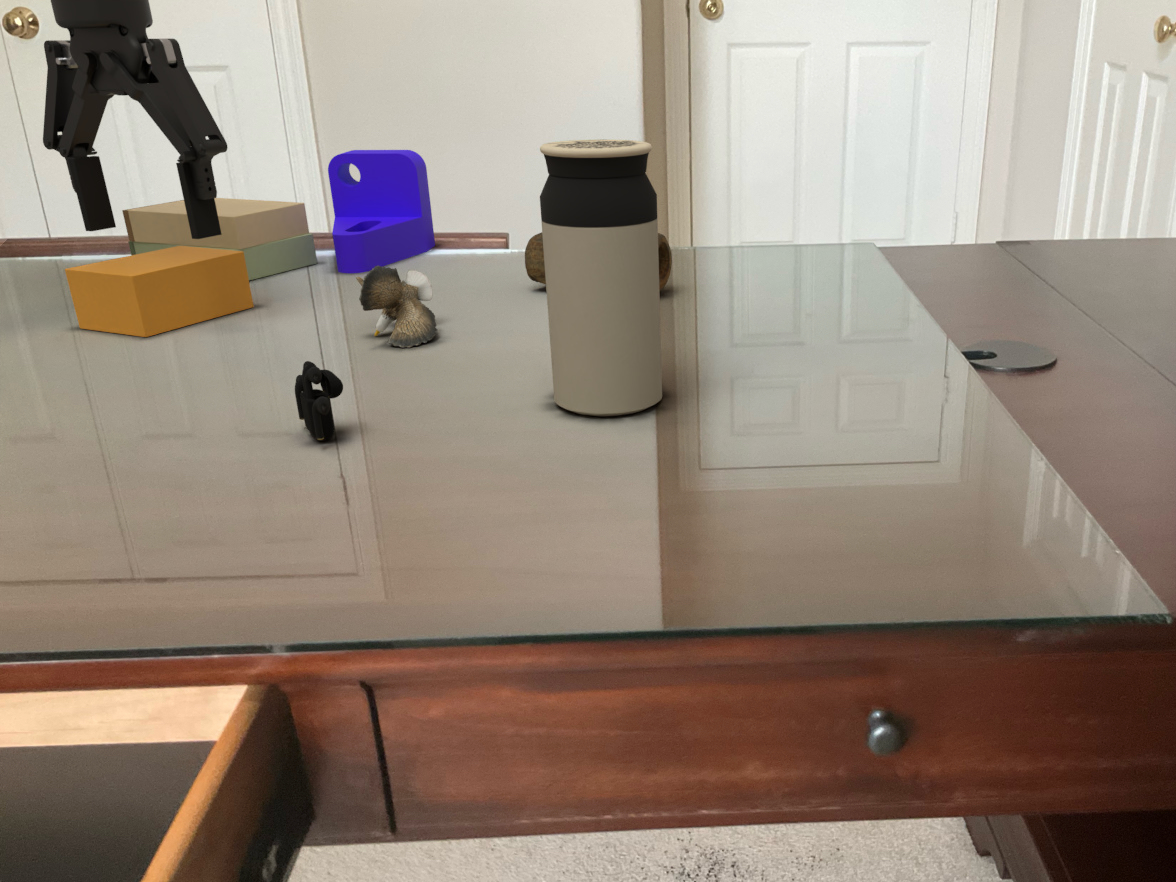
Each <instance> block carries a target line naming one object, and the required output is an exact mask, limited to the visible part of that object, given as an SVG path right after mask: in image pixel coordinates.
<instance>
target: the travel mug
mask: <svg viewBox="0 0 1176 882" xmlns="http://www.w3.org/2000/svg"><path fill="white" fill-rule="evenodd" d="M652 146H653V145H652V144H651V143H649V142H646V141H643V140H633V139H632V140H630V139H605V138H603V139H601V138H600V139H573V140H560V141H551V142H546V143H543V144H541V145H540V147H539V151H540V153H541V154H542V155H543V157H544V160H545V164H546V169H547V174H548V176H547V178H546V180H545V183H544V185H543V188H542V190H541V191H540V192H541V193H540V195H539V205H540V206H539V207H540V218H541V219H540V221H541V232H542V235H543V249H544V263H545V277H546V285H545V290H546V302H547V303H546V305H547V317H548V318H547V319H548V330H549V332H548V333H549V344H550V345H549V346H550V360H551V373H552V385H553V386H552V387H553V401H554V402H555V404H556V405H557V406H559V407H561V408H562V409H565V410H566V411H569V412H572V413H576V414H579V415H584V416H593V417H617V416H624V415H630V414H636V413H639V412H643V411H645V410H646V409H649V408H651V407H652V406H654V405H656V404H657V403H659V402H660V401H661V400H662V398H663V372H662V371H663V370H662V369H663V368H662V337H661V336H662V334H661V333H662V332H661V330H662V329H661V298H660V297H661V296H660V291H659V257H658V233H659V228H658V227H659V226H658V225H659V224H658V221H659V220H658V195H657V192H656V190H655V188H654V186H653V185H652V182H651V180H650V179H649V176H648V175H647V168H648V159H649V154H650V153H651V152H652V150H653V147H652Z"/></svg>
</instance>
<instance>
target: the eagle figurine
mask: <svg viewBox="0 0 1176 882" xmlns="http://www.w3.org/2000/svg"><path fill="white" fill-rule="evenodd" d="M355 279H356V281H357V282H358V283H359V284H360V286H361V288H360V295H359V298H358V299H359V302H360V305H361V306H362V310H363V311H366V312H368V311H369V312H370V311H376V310H382V311H381V314H380V316H379V317H378V321H377V322H376V325H375V331H374V334H373V336H374V337H377V336H378V335H379V334H381V333H383V332H385V331H386V330H387V328H388V326H390V324H392V322H394V321H395V325H394V329H393V331H392V333H391V335H390V336H389V338H388V341H387V343H388V344H392V345H393V346H394V347H399V348H402V349H405V348H409V349H410V348H412V347H414V346H416V347H417V346H420V345H421V344H422V343H423V344H427V343H428V341H432V340H433V338H434V337H435V336H436V334H437V330H438V329H437V323H436V315H435V314H434V312H433V311H432V310H431V309H430V308H429V307H427V306H426V305H425V304H423V303H422V301H423V302H428V301H431V300H432V299H433V294H434V293H433V285H432V283H431V281H430V278H429V277H428V276H426V274H424V273H422V272H420V271H417V270H415V269H409V270H408V271H407V273H406V276H405V280H401V278H400V275H399V272H398V269H397V267H394V268H393V267H385V266H383V267H381V266H375V267H374V268H372V270H370V271H368V272H367V273H366V275H365V276H364V277H363V278H362V277H360V276H356V277H355Z"/></svg>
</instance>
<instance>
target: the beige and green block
mask: <svg viewBox="0 0 1176 882" xmlns="http://www.w3.org/2000/svg"><path fill="white" fill-rule="evenodd" d="M214 199H215V204H216V209H217V214H218V219H219V224H220V229H221V234H222V235H217V236H212V237H207V238H202V239H192V236H191V231H190V226H189V222H188V217H187V212H186V207H185V203H184V199H179V200H174V201H169V202H162V203H157V204H151V205H146V206H139V207H133V208H127V209H122V216H123V220H124V224H125V228H126V233H127V237H128V247H129V251H130V256H131V255H136V254H141V253H146V252H151V251H156V250H161V249H166V248H171V247H176V246H189V247H200V248H211V249H222V250H233V251H243V252H244V257H245V262H246V267H247V273H248V278H249V281H252V280H256V279H261V278H265V277H269V276H273V275H277V274H280V273H284V272H289V271H293V270H297V269H300V268H304V267H305V268H306V267H308V266H309V267H310V266H312V265H316V264H318V259H317V258H318V257H317V252H316V245H315V240H314V234H313V233H311V232H310V230H309V223H308V217H307V211H306V204H305V202H298V201H297V202H296V201H282V200H281V201H279V200H262V199H261V200H260V199H244V198H228V197H227V198H226V197H216V198H214Z"/></svg>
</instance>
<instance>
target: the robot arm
mask: <svg viewBox="0 0 1176 882" xmlns="http://www.w3.org/2000/svg"><path fill="white" fill-rule="evenodd" d="M50 4H51V8H52V12H53V16H54V22H55V23H56V25H58V26H59V27H60V28H62V29H66V30H67V31H68V33H69V40H67V39H66V40H65V39H64V40H62V39H60V40H56V39H55V40H53V39H52V40H49V39H48V40H45V41H44V42H43V49H44V50H43V51H44V55H45V60H46V67H47V71H46V72H47V73H46V87H45V103H44V116H43V117H44V118H43V131H42V144H43V146H44V147H45V148H46V150H49V151H50V150H54V151H56V152H58V153H59V155H60V156H61V157H62V158H64V159H65V163H66V167H67V170H68V174H69V178H70V183H71V186H72V190H73V191H74V193H75V194H76V197H77V200H78V201H77V202H78V205H79V208H80V213H81V217H82V221H83V224H84V228H85V229H84V230H85V232H95V231H102V230H107V229H113V228H114V229H115V228H117V226H116V221H115V217H114V213H113V208H112V205H111V200H110V196H109V192H108V188H107V183H106V179H105V175H104V171H103V167H102V163H101V158H100V156H99V155H97V154H98V151H96V148H94V144H95V141H96V137H97V135H98V132H99V128H100V126H101V123H102V119H103V118H104V117H103V116H104V113H105V111H106V107H107V105H108V101H109V100H110V99H112V98H113V97H114V96H128V97H129V98H130V99H131V100H134V101H136V102H137V103H139V104H140V106H141V107H142V108H143V109H144V111H145V112H146V113H147V115H148V116H149V117H150V118H151V119H152V121H153V122H154V124H155V125H156V127H158V129H159V130H160V131H161V133H162V134H163V135H164V136H165V138H166V139H167V140H168V141H169V143H170V144H171V145H172V146H173V148H174V149H175V150H176V151H177V153H178V154H179V156H178V159H177V160H176V161H177V162H176V163H175V164H176V165H175V166H176V169H177V174H178V178H179V183H180V187H181V193H182V197H183V200H184V203H185V207H186V212H187V217H188V222H189V226H190V231H191V236H192V239H202V238H207V237H212V236H217V235H222V234H221V229H220V224H219V219H218V214H217V209H216V204H215V199H214V198H218V197H217V196H218V190H217V185H216V180H215V175H214V170H213V165H212V160H213V159H214V157H216V156H218V155H219V154H223V153H226V152H227V151H228V144H227V141H226V139H225V137H224V136H223V134H222V132H221V130H220V128H219V126H218V124H217V123H216V121H215V119H214V116H213V115H212V113H211V111H210V109H209V108H208V105H207V104H206V102H205V100H204V98H203V96H202V95H201V93H200V91H199V89H198V87H197V85H196V83H195V82H194V80H193V78H192V76H191V74H190V73H189V70H188V69H187V67H186V64H185V61H184V57H183V53H182V50H181V49H182V48H181V46H180V43H179V41H178V40H177V39H175V38H149V37H148V34H147V29H148V28H150V27H152V26H153V24H154V23H153V22H154V20H153V15H152V11H151V10H152V9H151V5H150V1H149V0H50ZM58 133H61V134H58ZM207 138H208V139H207Z"/></svg>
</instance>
